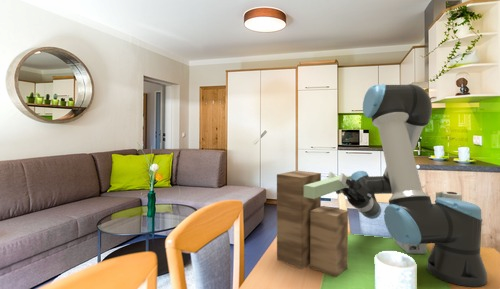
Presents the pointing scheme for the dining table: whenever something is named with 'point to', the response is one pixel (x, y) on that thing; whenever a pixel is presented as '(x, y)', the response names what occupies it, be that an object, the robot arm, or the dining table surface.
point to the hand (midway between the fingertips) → (335, 176)
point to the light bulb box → (413, 248)
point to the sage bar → (323, 187)
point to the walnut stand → (309, 227)
